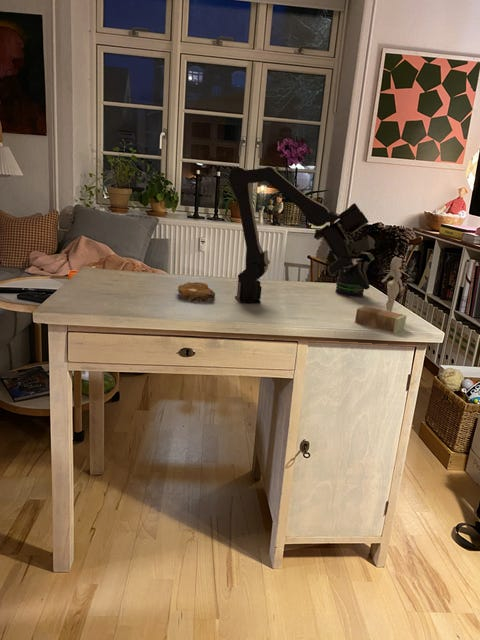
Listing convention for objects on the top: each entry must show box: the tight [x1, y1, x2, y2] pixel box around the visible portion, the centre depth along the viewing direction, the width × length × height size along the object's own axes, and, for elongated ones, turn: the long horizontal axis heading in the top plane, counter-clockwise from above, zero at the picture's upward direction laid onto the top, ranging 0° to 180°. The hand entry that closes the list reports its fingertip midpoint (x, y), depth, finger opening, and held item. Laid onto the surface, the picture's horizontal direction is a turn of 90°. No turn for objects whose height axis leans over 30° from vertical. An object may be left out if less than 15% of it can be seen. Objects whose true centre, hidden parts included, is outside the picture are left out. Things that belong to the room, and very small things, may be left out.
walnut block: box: [354, 305, 407, 334], centre depth 140 cm, size 4×6×12 cm
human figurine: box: [381, 256, 406, 312], centre depth 149 cm, size 12×4×18 cm, turn 12°
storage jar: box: [335, 251, 370, 298], centre depth 175 cm, size 10×10×15 cm
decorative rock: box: [177, 281, 216, 303], centre depth 154 cm, size 11×4×15 cm
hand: (367, 288), depth 141 cm, fingers closed
